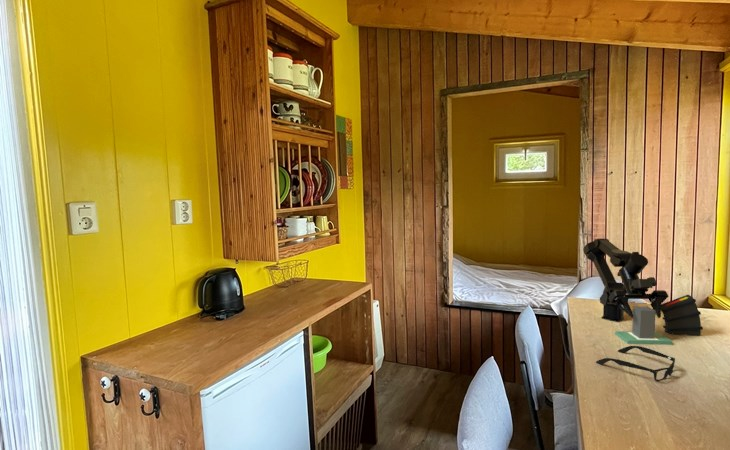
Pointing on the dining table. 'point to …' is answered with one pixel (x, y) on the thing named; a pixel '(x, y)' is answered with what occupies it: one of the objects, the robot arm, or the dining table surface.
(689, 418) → the dining table surface
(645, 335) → the block
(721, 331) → the dining table surface
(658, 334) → the board
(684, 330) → the magazine
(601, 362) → the glasses
